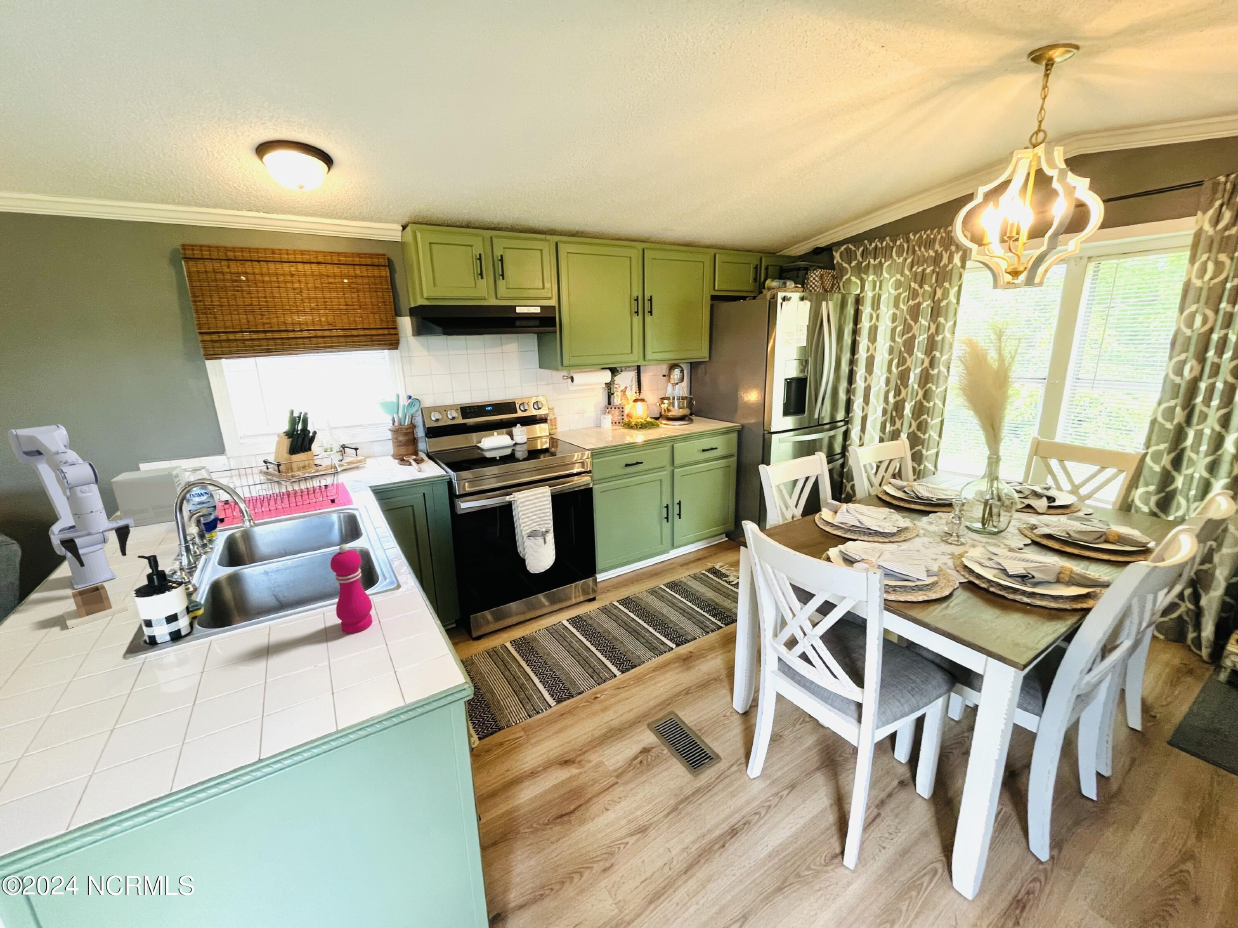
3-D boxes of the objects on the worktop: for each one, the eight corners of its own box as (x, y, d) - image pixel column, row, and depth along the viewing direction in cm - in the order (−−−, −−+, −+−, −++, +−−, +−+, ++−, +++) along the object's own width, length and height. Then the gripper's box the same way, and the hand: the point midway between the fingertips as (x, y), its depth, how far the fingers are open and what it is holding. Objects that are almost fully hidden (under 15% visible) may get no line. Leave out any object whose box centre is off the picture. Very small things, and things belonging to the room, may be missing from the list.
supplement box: (194, 509, 195) (182, 464, 190) (185, 519, 184) (173, 472, 179) (135, 517, 187) (122, 471, 182) (123, 529, 176) (108, 480, 171)
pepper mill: (360, 636, 109) (345, 553, 104) (331, 633, 111) (315, 550, 105) (381, 618, 116) (368, 539, 111) (354, 615, 117) (340, 537, 112)
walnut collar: (77, 610, 120) (71, 592, 119) (108, 601, 125) (102, 583, 123) (80, 618, 117) (74, 599, 116) (112, 608, 121) (106, 589, 120)
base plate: (64, 616, 120) (57, 597, 119) (120, 598, 128) (115, 581, 126) (68, 629, 115) (62, 609, 113) (127, 609, 122) (122, 591, 121)
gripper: (46, 523, 117) (64, 575, 120) (130, 505, 128) (144, 554, 131) (43, 517, 121) (61, 567, 125) (125, 500, 132) (138, 547, 136)
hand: (103, 560), depth 128 cm, fingers open, 7 cm apart
